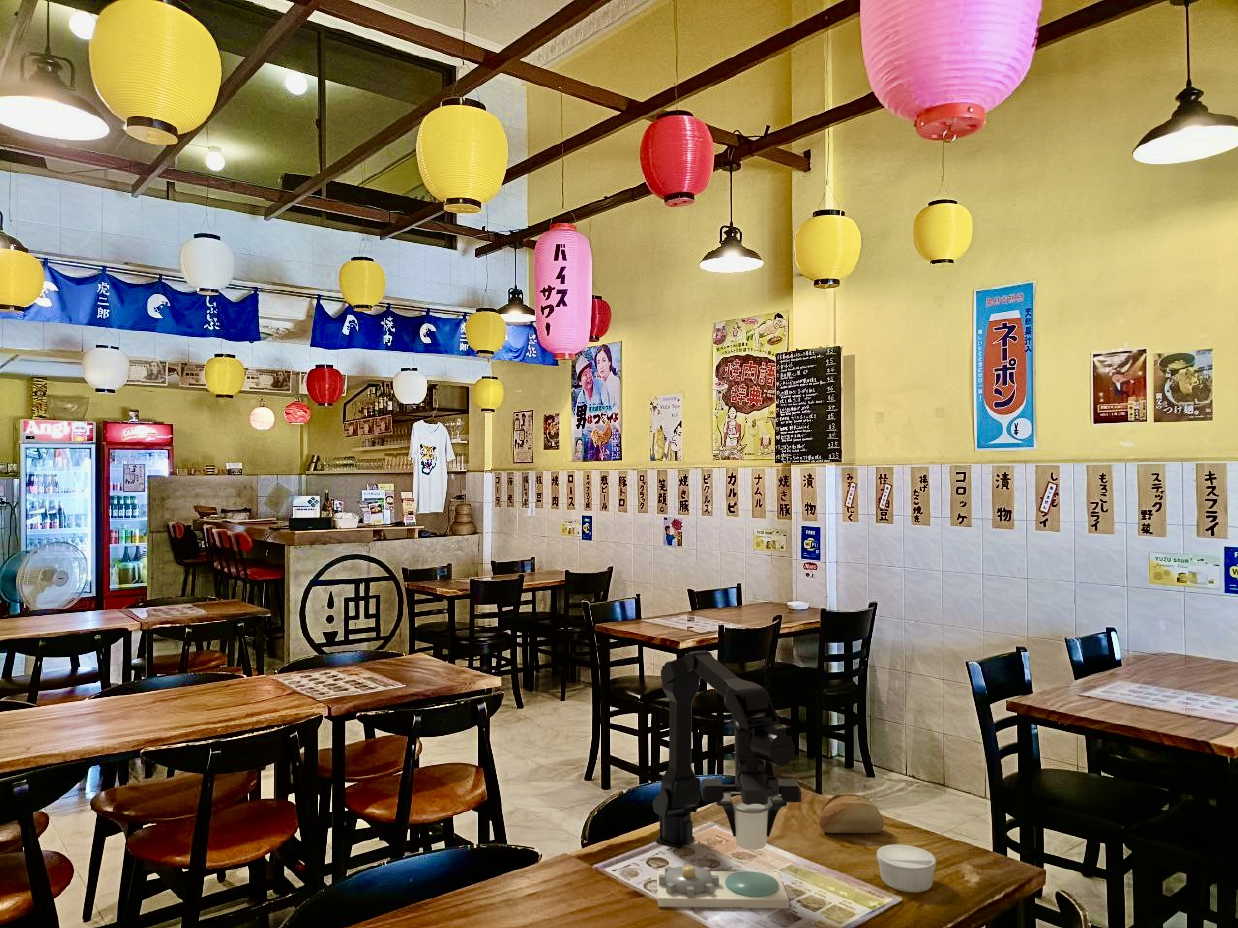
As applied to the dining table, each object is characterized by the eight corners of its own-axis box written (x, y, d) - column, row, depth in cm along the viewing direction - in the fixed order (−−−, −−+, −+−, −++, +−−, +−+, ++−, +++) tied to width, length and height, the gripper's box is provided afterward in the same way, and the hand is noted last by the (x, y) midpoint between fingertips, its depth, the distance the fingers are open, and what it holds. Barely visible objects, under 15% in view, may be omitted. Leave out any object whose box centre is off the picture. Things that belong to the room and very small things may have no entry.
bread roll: (811, 825, 194) (811, 790, 194) (872, 822, 196) (871, 787, 197) (827, 841, 184) (827, 804, 185) (891, 838, 187) (890, 801, 187)
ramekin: (907, 900, 156) (907, 871, 156) (864, 877, 166) (864, 850, 166) (949, 888, 161) (949, 860, 162) (905, 866, 171) (904, 840, 172)
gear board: (658, 906, 153) (658, 881, 153) (656, 878, 165) (656, 854, 165) (789, 908, 153) (788, 882, 153) (778, 879, 165) (777, 856, 165)
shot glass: (768, 852, 156) (768, 813, 156) (732, 849, 157) (731, 811, 158) (769, 838, 163) (768, 801, 163) (734, 836, 164) (733, 799, 164)
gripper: (704, 764, 153) (705, 852, 152) (806, 765, 153) (808, 852, 152) (700, 748, 164) (701, 829, 163) (795, 748, 164) (796, 830, 163)
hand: (750, 835), depth 160 cm, fingers closed on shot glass, 6 cm apart
